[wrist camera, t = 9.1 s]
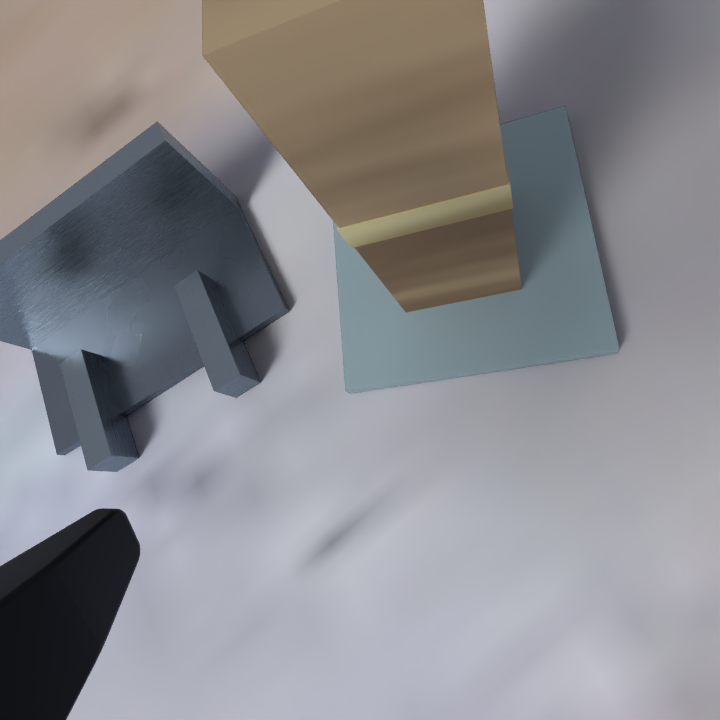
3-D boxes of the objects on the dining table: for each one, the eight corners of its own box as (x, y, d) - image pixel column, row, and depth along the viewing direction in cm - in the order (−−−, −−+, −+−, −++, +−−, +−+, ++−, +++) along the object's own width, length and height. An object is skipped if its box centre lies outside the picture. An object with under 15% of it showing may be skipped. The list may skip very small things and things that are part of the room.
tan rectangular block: (523, 290, 17) (480, -53, 7) (404, 314, 19) (199, 59, 8) (504, 183, 19) (439, -263, 8) (393, 212, 20) (199, -136, 9)
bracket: (309, 352, 20) (238, 311, 16) (75, 497, 22) (-48, 498, 18) (234, 194, 23) (157, 121, 19) (35, 334, 25) (-79, 299, 21)
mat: (617, 353, 17) (619, 348, 16) (350, 393, 19) (345, 391, 19) (564, 115, 19) (565, 105, 19) (334, 180, 22) (329, 174, 21)
